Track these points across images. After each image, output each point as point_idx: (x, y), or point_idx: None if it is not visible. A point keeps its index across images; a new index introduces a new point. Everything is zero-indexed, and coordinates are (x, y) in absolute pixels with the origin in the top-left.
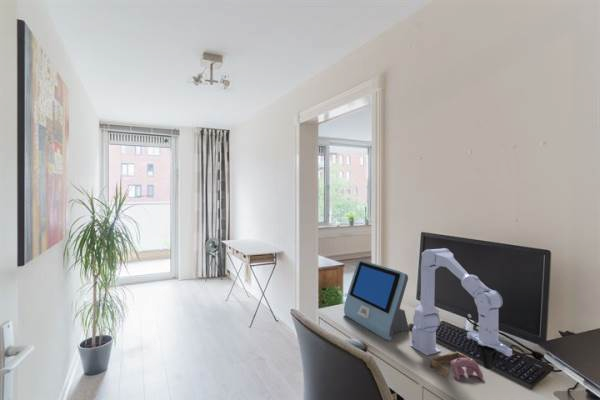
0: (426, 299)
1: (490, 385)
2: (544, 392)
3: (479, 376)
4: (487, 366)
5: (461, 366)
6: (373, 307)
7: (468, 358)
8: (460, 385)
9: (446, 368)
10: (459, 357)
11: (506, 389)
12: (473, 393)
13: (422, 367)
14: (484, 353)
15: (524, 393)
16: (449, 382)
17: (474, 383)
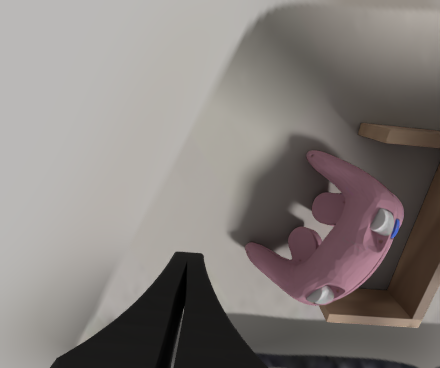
0: None
1: (205, 234)
2: None
3: (258, 246)
4: (173, 259)
5: (339, 220)
6: None
7: (340, 293)
8: (280, 120)
9: (391, 134)
10: (388, 302)
11: (158, 260)
12: (208, 113)
13: None
14: (179, 341)
15: (113, 287)
16: (328, 93)
17: (251, 192)
